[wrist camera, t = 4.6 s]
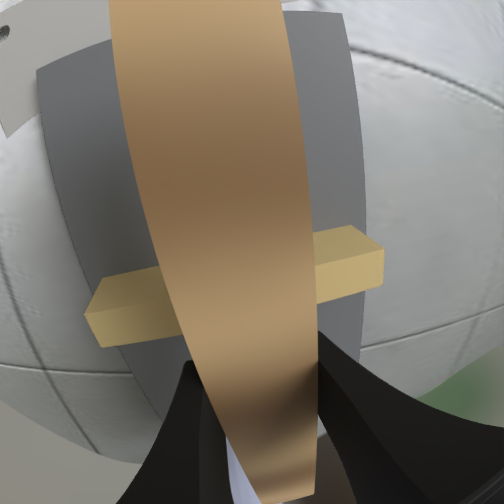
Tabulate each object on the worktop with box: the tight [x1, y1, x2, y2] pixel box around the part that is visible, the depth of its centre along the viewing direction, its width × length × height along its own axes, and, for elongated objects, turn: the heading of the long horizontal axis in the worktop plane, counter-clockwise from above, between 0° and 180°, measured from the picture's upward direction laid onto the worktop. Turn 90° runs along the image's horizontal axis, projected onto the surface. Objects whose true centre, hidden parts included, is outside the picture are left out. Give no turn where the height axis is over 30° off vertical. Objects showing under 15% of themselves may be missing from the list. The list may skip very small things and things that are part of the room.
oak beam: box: [108, 0, 318, 504], centre depth 10 cm, size 22×3×4 cm, turn 9°
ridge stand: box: [36, 11, 385, 422], centre depth 15 cm, size 26×16×4 cm, turn 9°
